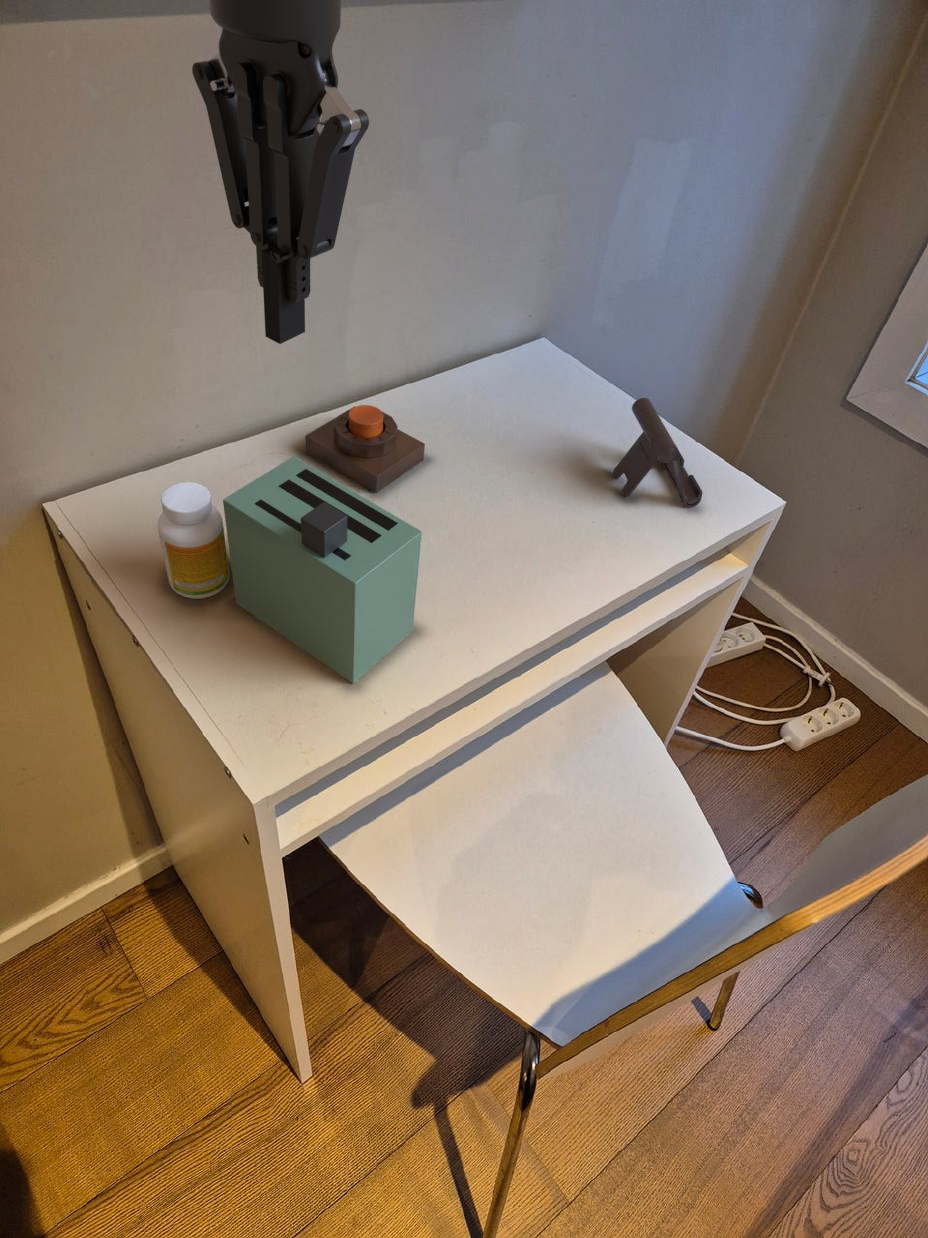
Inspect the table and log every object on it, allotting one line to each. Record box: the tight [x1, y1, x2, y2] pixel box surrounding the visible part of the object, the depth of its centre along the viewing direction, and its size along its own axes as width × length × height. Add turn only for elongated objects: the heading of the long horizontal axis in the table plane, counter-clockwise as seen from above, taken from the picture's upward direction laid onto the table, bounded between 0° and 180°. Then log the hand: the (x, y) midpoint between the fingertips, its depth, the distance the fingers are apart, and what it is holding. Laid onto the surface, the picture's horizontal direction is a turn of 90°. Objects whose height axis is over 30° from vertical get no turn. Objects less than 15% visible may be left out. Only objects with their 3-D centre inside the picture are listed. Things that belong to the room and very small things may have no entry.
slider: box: [301, 502, 347, 557], centre depth 65 cm, size 2×3×3 cm
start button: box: [349, 404, 383, 438], centre depth 90 cm, size 4×4×2 cm
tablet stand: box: [612, 397, 704, 509], centre depth 93 cm, size 9×8×8 cm
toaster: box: [222, 456, 423, 685], centre depth 73 cm, size 14×8×12 cm, turn 53°
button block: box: [304, 405, 426, 494], centre depth 92 cm, size 10×8×4 cm
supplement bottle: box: [157, 481, 231, 600], centre depth 75 cm, size 5×5×10 cm
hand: (285, 333), depth 65 cm, fingers closed
